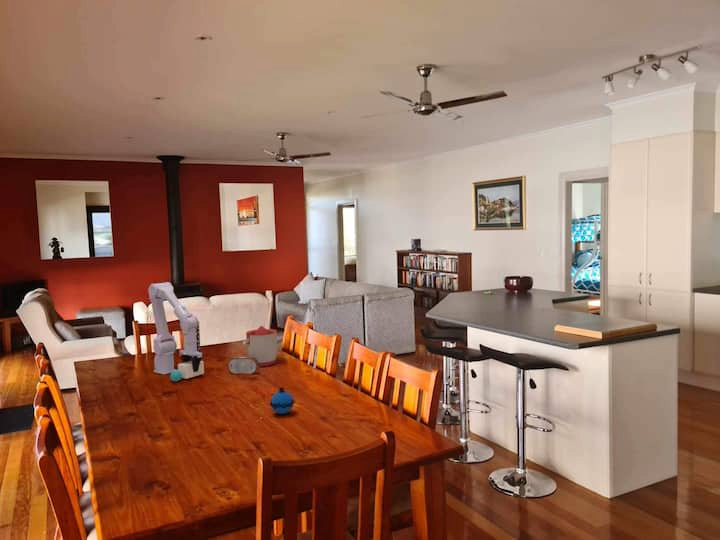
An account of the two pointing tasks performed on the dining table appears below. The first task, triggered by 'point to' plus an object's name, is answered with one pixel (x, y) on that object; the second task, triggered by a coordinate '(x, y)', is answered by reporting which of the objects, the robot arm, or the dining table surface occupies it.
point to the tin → (243, 365)
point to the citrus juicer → (262, 345)
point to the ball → (175, 375)
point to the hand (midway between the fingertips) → (191, 370)
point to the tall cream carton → (190, 369)
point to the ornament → (282, 402)
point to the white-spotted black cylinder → (197, 339)
